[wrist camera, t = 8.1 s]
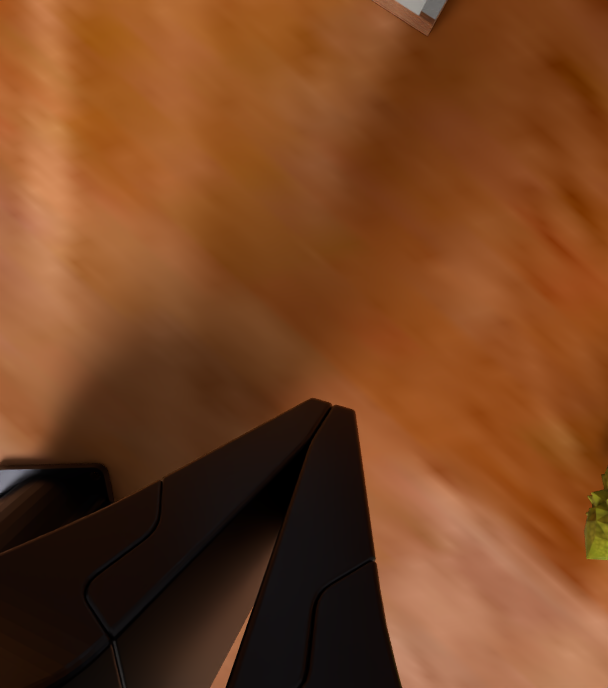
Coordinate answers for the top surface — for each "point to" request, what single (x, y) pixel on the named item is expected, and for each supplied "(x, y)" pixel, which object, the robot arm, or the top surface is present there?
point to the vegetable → (598, 523)
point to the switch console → (415, 12)
